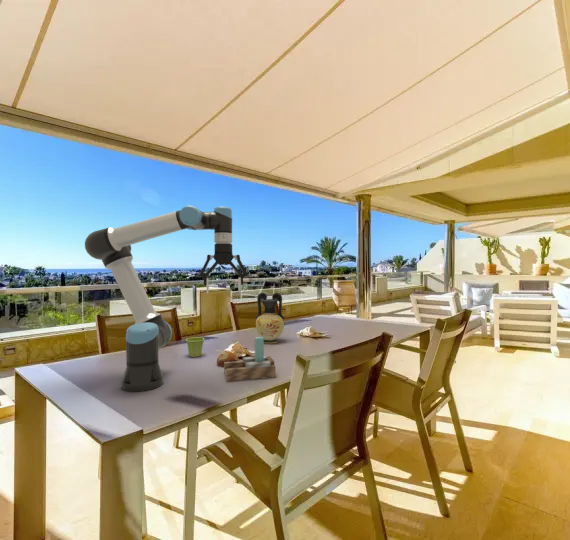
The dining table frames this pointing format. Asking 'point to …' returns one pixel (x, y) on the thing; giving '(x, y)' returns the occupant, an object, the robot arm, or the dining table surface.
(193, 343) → the plant pot
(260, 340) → the t post
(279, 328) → the amphora
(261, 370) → the slot board
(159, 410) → the dining table surface
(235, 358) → the bread roll
